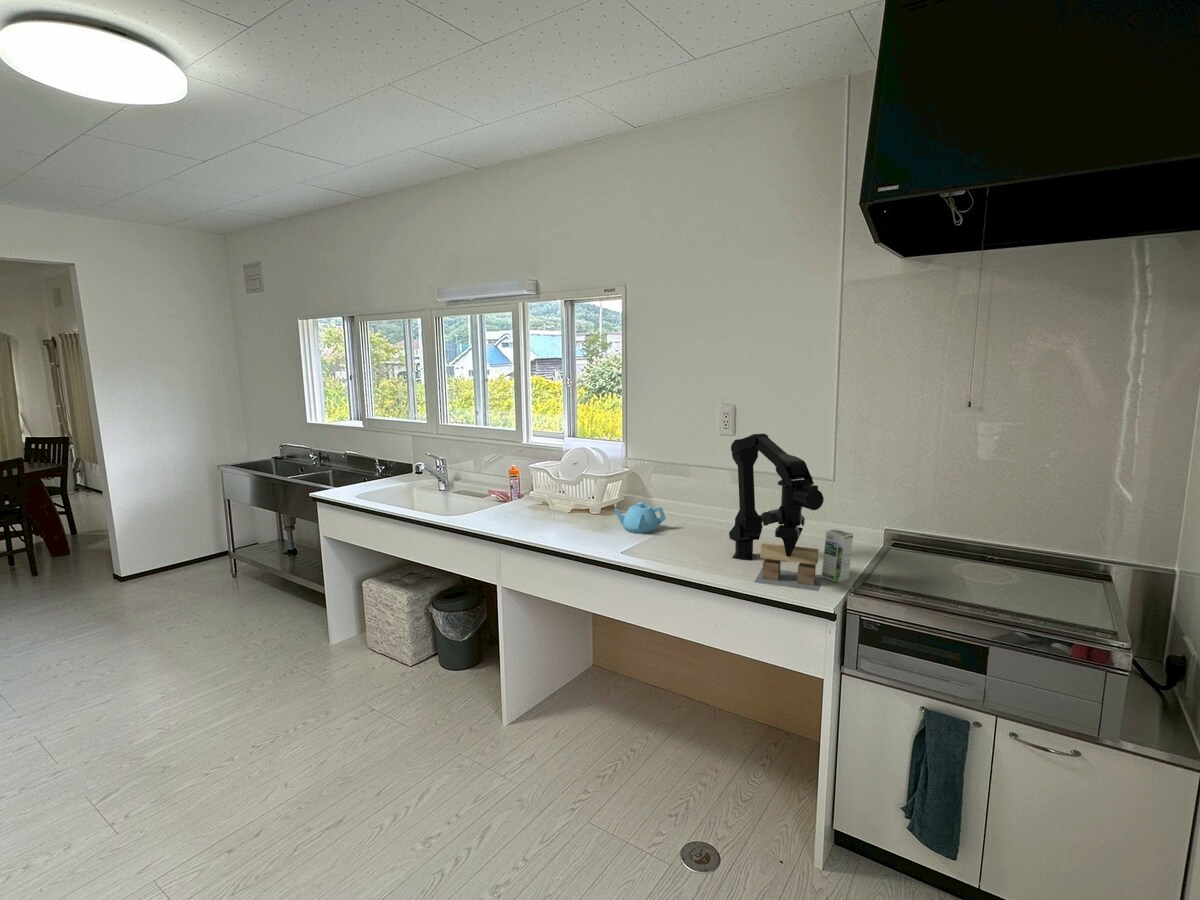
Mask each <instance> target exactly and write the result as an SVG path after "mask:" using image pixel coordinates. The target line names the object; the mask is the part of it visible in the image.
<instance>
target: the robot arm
mask: <svg viewBox="0 0 1200 900" xmlns="http://www.w3.org/2000/svg"><path fill="white" fill-rule="evenodd" d="M730 451H731V456H732V459H733V461H734V463H735V464H736V465H737V477H738V479H737V480H738V503H739V511H738V513H736V516H735V518H734V525H733V527H732V528H731V529H730V530H729V532H728V536H729V539H730V540H731V541H734V542H735V550H734V551H735V552H734V554H733V555H732V559H734V560H736V559H737V560H744V561H753V560H754V558H755V557H756V553H754V541H759V540H760V538H761V535H762V532H763V526H769V525H771V524H772V525H773V524H775V523H777V525H778V526H776V528H775V531H774V533H775V535H774V537H775V538H779V539H781V540H782V543H783V545H784V547H785V552H786V556H788V557H790V556H791V554H792V552H793V549H794V547H795V546H796V545H797V543H798V541H799V538H800V536H801V534H802V531H803V527H804V526H805V524H806V523H805V522H806V521H805V520H806V517H805V516H803V514H802V511H803V508H805V509H808V510H810V511H817V510H819V509H820V508H821V507H822V505H823V503H824V501H825V500H824V495H823V493H822V492H821V490H819V485H817V484H815V482H814V480H813V476H812V475H811V473H810V471H809V468H808V466H807V465H808V464H807V463H806V462H805V460H803V459H802V458H799V457H797V456H794V455H792V454H789V453H787V452H786V451H784V449H783V448H781V447H780V446H779V445H778V444H776V443H775V442H774V441H773V440H771V439H770V437H769V436H768V434H767V433H753V434H750V435H749V436H746V437H743V438H739V439H738V438H737V439H734V440H733V442H732V443H731V445H730ZM759 452H760V453H761V454H762V455H763V456H764V457H765V458H767V460H768V461H770V462H771V463H772V464H773V465H774V466H775V472H776V473H777V475H778V476H779V477H780V479H781V480H779V481H778V482H777V485H778V486H781V499H780V501H781V502H780V503H781V504H780V505H779V507H778V508H776V509H772V510H768V511H763V512H762V513H761V514H760V515H759V514H758V511H757V510H756V502H755V501H756V500H755V499H756V498H755V476H754V475H755V473H754V466H755V464H756V461H757V460H758V457H759ZM800 526H802V527H800Z"/></svg>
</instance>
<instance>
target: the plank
mask: <svg viewBox="0 0 1200 900" xmlns="http://www.w3.org/2000/svg"><path fill="white" fill-rule="evenodd" d="M759 554H760V555H759V557H760V558H759V559H764V560H765V559H773V560H781V561H783V562H793V563H807V564H816V565H818V562H819V548H814V547H813V548H811V547H803V546H796V545H795V547H794V549H793V552H792V554H791V556H790V557H788V556H786V552H785V547H784V544H777V543H767V542H762V543H761V545H760V553H759Z"/></svg>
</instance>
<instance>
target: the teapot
mask: <svg viewBox="0 0 1200 900" xmlns="http://www.w3.org/2000/svg"><path fill="white" fill-rule="evenodd" d="M613 510H614V512H615V514H616V516H617V517H618V520H619V522H620V523H621V526H623V527H622V528H624V530H625V531H626V530H627V531H626V532H628V531H629V533H631V532H633V533H632V534H639V533H643V534H650V532H651V533H653V531H654V532H656V530H657V529H658V528H659V525H661V524H662V523H663V522H664V521H665V520H666V519H667V518H666V515H665V512H664V509H663V506H659V507H653V508H652V506H650V505H646V504H645V502H641V501H639V502H636V504H634V505H631V506H629V507H628V510H627V511H626V513H625V515H623V514H622V512H621V511H620V510H619V508H614V509H613ZM656 512H659V517H658V516H657V514H656Z"/></svg>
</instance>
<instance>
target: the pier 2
mask: <svg viewBox="0 0 1200 900" xmlns="http://www.w3.org/2000/svg"><path fill="white" fill-rule="evenodd" d="M798 563H799V562H798ZM816 568H817V567H816V564H807V563H799V564H798V566H797V572H798V579H797V584H804V585H812V586H814V582H815V574H816Z"/></svg>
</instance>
